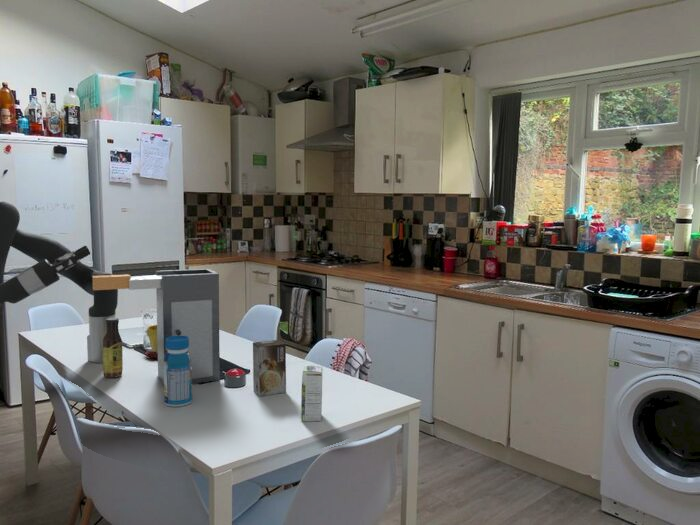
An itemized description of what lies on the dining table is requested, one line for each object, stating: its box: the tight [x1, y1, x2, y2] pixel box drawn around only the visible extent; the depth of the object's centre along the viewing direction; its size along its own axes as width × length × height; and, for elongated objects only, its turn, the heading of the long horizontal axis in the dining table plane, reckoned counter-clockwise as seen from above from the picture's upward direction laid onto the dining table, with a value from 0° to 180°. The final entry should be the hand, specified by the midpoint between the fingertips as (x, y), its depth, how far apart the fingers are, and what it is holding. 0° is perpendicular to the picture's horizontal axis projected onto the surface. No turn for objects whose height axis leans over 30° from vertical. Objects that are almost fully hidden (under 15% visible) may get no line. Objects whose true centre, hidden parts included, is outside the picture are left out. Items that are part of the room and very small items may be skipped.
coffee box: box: [252, 339, 287, 397], centre depth 186 cm, size 9×6×16 cm
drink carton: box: [300, 365, 324, 422], centre depth 165 cm, size 6×6×14 cm
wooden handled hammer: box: [92, 273, 176, 291], centre depth 189 cm, size 26×9×4 cm, turn 116°
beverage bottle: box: [163, 335, 193, 408], centre depth 175 cm, size 8×8×20 cm
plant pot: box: [146, 324, 158, 352], centre depth 232 cm, size 10×10×10 cm
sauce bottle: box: [102, 317, 124, 379], centre depth 199 cm, size 6×6×20 cm
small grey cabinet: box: [155, 268, 221, 386], centre depth 197 cm, size 18×16×36 cm
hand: (88, 249), depth 181 cm, fingers open, 8 cm apart
